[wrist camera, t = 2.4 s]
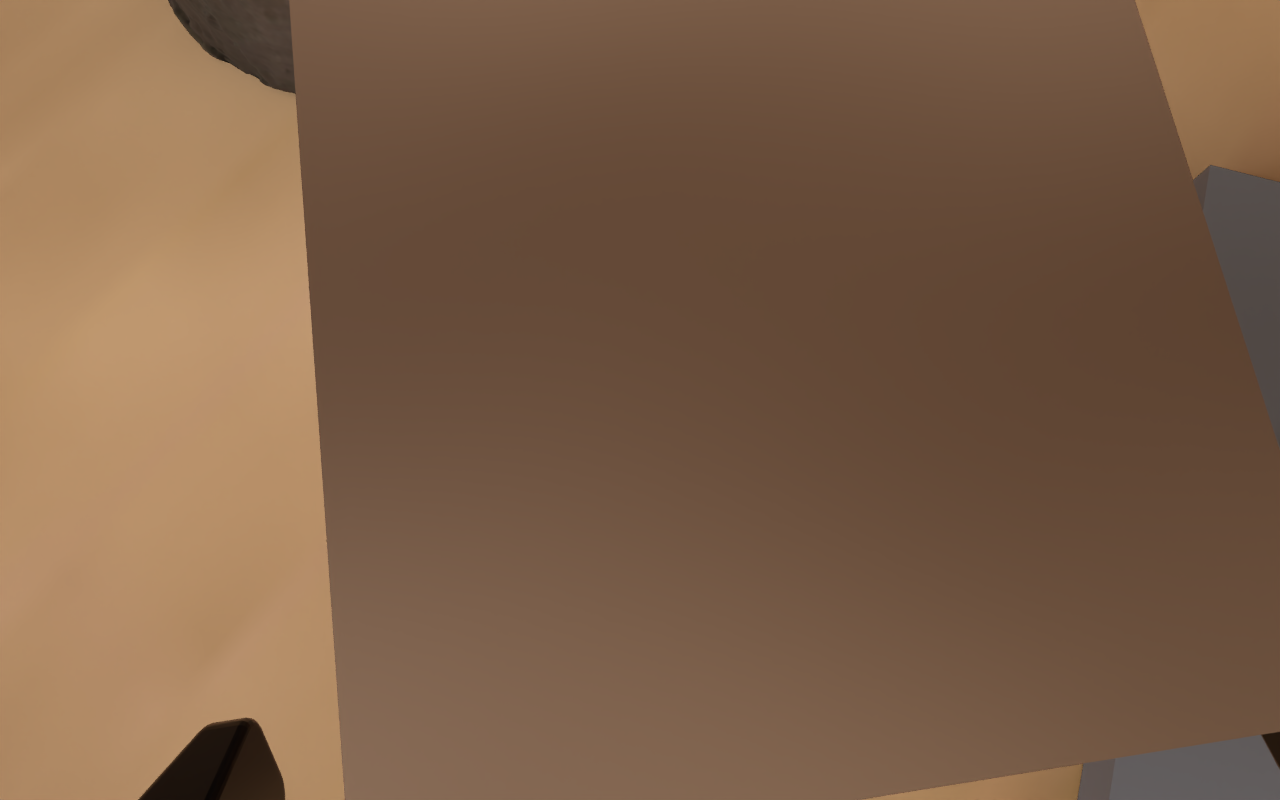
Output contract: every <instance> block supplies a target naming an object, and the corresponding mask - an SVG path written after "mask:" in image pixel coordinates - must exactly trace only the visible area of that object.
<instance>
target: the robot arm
mask: <svg viewBox="0 0 1280 800" xmlns="http://www.w3.org/2000/svg"><path fill="white" fill-rule="evenodd" d="M1261 736H1262V738H1263V740H1264V742H1265V743H1266V745H1267V747H1268V749H1269V751H1270V753H1271V755H1272V756H1273V758H1274V760H1275V762H1276V764H1277V766H1278V767H1279V769H1280V732H1275V733H1269V734H1262V735H1261ZM138 800H285V789H284V783H283V778H282V776H281V773H280V770H279V768H278V766H277V764H276V761H275V759H274V757H273V754H272V752H271V750H270V747H269V745H268V743H267V740H266V738H265V736H264V733H263V731H262V729H261V727H260V726H259V724H258V723H257V722H256V721H255V720H254V719H252V718H241V719H235V720H229V721H222V722H216V723H212V724H209V725H207V726H206V727H204V728H203V729H202V730H201V731H200V732H199V733H198V734H197V735H196V736H195V737H194V738H193V739H192V740H191V742H190V743H189V744H188V745H187V746H186V747H185V748H184V749H183V750H182V752H181V753H180V754H179V755H178V756H177V757H176V758H175V759H174V760H173V762H172V763H171V764H170V765H169V766H168V767H167V768H166V769H165V770H164V772H163V773H162V774H161V775H160V776H159V777H158V778H157V779H156V780H155V782H154V783H153V784H152V785H151V786H150V787H149V788H148V789H147V790H146V792H145V793H144V794H143V795H142V796H141V797H140V798H139V799H138Z"/></svg>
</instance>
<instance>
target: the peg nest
mask: <svg viewBox="0 0 1280 800" xmlns="http://www.w3.org/2000/svg"><path fill="white" fill-rule="evenodd" d="M1193 182H1194V185H1195V189H1196V192H1197V195H1198V198H1199V201H1200V204H1201V207H1202V210H1203V213H1204V216H1205V220H1206V223H1207V226H1208V229H1209V232H1210V235H1211V238H1212V241H1213V244H1214V247H1215V251H1216V254H1217V257H1218V260H1219V263H1220V266H1221V269H1222V272H1223V275H1224V278H1225V281H1226V285H1227V288H1228V291H1229V294H1230V297H1231V300H1232V303H1233V306H1234V309H1235V312H1236V316H1237V319H1238V322H1239V325H1240V328H1241V331H1242V334H1243V337H1244V340H1245V343H1246V347H1247V350H1248V353H1249V356H1250V359H1251V362H1252V365H1253V368H1254V371H1255V374H1256V378H1257V381H1258V384H1259V387H1260V390H1261V393H1262V396H1263V399H1264V402H1265V405H1266V409H1267V412H1268V415H1269V418H1270V421H1271V424H1272V427H1273V430H1274V433H1275V436H1276V440H1277V443H1278V446H1279V449H1280V182H1277V181H1273V180H1269V179H1265V178H1261V177H1257V176H1253V175H1249V174H1245V173H1241V172H1237V171H1233V170H1229V169H1225V168H1221V167H1217V166H1213V165H1210V166H1209V167H1207V168H1206V169H1205V170H1204V171H1203V172H1202V173H1201V174H1200V175H1198V176H1197V177H1196V178H1195V179H1194V180H1193ZM1078 800H1280V769H1279V767H1278V766H1277V764H1276V762H1275V760H1274V758H1273V756H1272V755H1271V753H1270V751H1269V749H1268V747H1267V745H1266V743H1265V742H1264V740H1263V738H1262V736H1261V735H1256V736H1250V737H1244V738H1238V739H1232V740H1225V741H1219V742H1213V743H1207V744H1201V745H1195V746H1188V747H1182V748H1176V749H1170V750H1164V751H1157V752H1151V753H1145V754H1139V755H1133V756H1127V757H1120V758H1114V759H1108V760H1102V761H1096V762H1090V763H1084V764H1083V770H1082V776H1081V782H1080V788H1079V794H1078Z"/></svg>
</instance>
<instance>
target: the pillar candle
mask: <svg viewBox="0 0 1280 800" xmlns="http://www.w3.org/2000/svg"><path fill="white" fill-rule="evenodd" d="M168 1H169V3H170V6H171V7H172V9H173V11H174V13H175V15H176V16H177V18H178V19H179V20H180V22H181V23H182V24H183V26H184V27H185V28H186V29H187V31H188V32H189V33H190V35H191V36H192V37H193V38H194V39H195V40H196V41H197V42H198V43H199V44H200V45H201V46H202V48H203V49H204V50H205V51H207V52H208V53H209V54H210V55H211V56H213V57H215V58H216V59H219V60H222V61H225V62H228V63H231V64H232V65H234V66H235V67H237V68H238V69H240V70H242V71H243V72H245V73H246V74H251V75H253V76H255V77H257V78H258V79H260V82H262V83H263V84H265V85H267V86H270V87H272V88H274V89H279V90H282V91H286V92H291V93H295V94H296V91H295V77H294V62H293V48H292V34H291V19H290V5H289V0H168Z"/></svg>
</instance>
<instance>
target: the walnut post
mask: <svg viewBox="0 0 1280 800" xmlns="http://www.w3.org/2000/svg"><path fill="white" fill-rule="evenodd" d="M289 5H290V19H291V34H292V48H293V62H294V77H295V91H296V105H297V120H298V134H299V148H300V163H301V177H302V191H303V205H304V220H305V234H306V248H307V263H308V277H309V291H310V306H311V320H312V334H313V349H314V363H315V377H316V392H317V406H318V420H319V435H320V449H321V463H322V478H323V492H324V506H325V521H326V535H327V549H328V564H329V578H330V592H331V607H332V621H333V635H334V650H335V664H336V678H337V692H338V707H339V721H340V735H341V750H342V764H343V778H344V793H345V800H861V799H867V798H873V797H880V796H886V795H892V794H898V793H904V792H910V791H917V790H923V789H929V788H935V787H941V786H948V785H954V784H960V783H966V782H972V781H978V780H985V779H991V778H997V777H1003V776H1009V775H1015V774H1022V773H1028V772H1034V771H1040V770H1046V769H1053V768H1059V767H1065V766H1071V765H1077V764H1083V763H1090V762H1096V761H1102V760H1108V759H1114V758H1120V757H1127V756H1133V755H1139V754H1145V753H1151V752H1157V751H1164V750H1170V749H1176V748H1182V747H1188V746H1195V745H1201V744H1207V743H1213V742H1219V741H1225V740H1232V739H1238V738H1244V737H1250V736H1256V735H1262V734H1269V733H1275V732H1280V449H1279V446H1278V443H1277V440H1276V436H1275V433H1274V430H1273V427H1272V424H1271V421H1270V418H1269V415H1268V412H1267V409H1266V405H1265V402H1264V399H1263V396H1262V393H1261V390H1260V387H1259V384H1258V381H1257V378H1256V374H1255V371H1254V368H1253V365H1252V362H1251V359H1250V356H1249V353H1248V350H1247V347H1246V343H1245V340H1244V337H1243V334H1242V331H1241V328H1240V325H1239V322H1238V319H1237V316H1236V312H1235V309H1234V306H1233V303H1232V300H1231V297H1230V294H1229V291H1228V288H1227V285H1226V281H1225V278H1224V275H1223V272H1222V269H1221V266H1220V263H1219V260H1218V257H1217V254H1216V251H1215V247H1214V244H1213V241H1212V238H1211V235H1210V232H1209V229H1208V226H1207V223H1206V220H1205V216H1204V213H1203V210H1202V207H1201V204H1200V201H1199V198H1198V195H1197V192H1196V189H1195V185H1194V182H1193V179H1192V176H1191V173H1190V170H1189V167H1188V164H1187V161H1186V158H1185V154H1184V151H1183V148H1182V145H1181V142H1180V139H1179V136H1178V133H1177V130H1176V127H1175V123H1174V120H1173V117H1172V114H1171V111H1170V108H1169V105H1168V102H1167V99H1166V96H1165V92H1164V89H1163V86H1162V83H1161V80H1160V77H1159V74H1158V71H1157V68H1156V65H1155V61H1154V58H1153V55H1152V52H1151V49H1150V46H1149V43H1148V40H1147V37H1146V34H1145V31H1144V27H1143V24H1142V21H1141V18H1140V15H1139V12H1138V9H1137V6H1136V3H1135V0H289Z"/></svg>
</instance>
